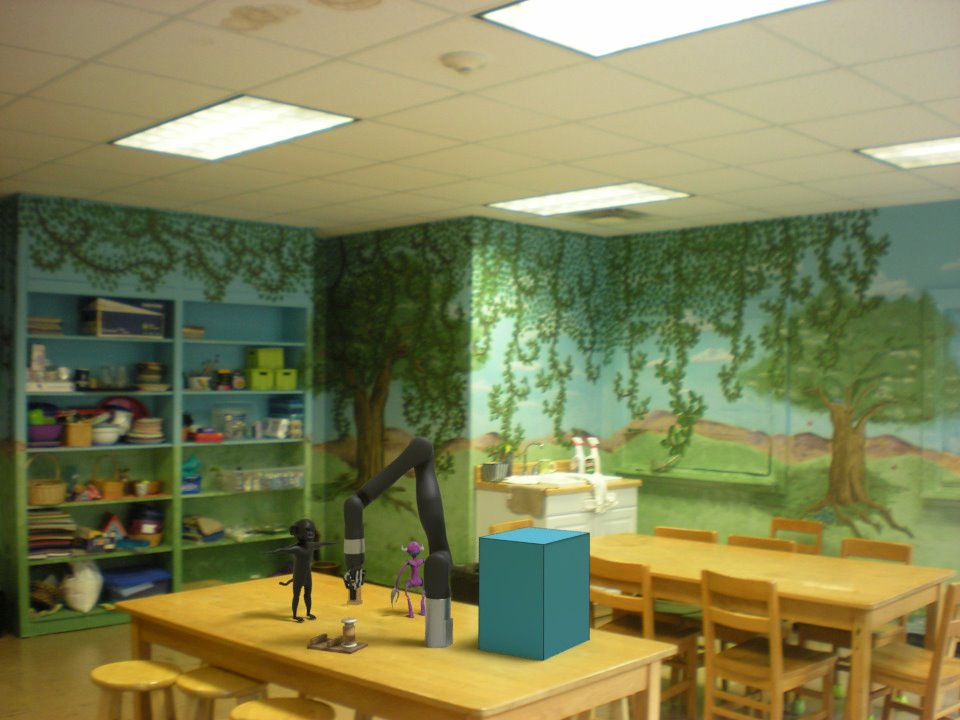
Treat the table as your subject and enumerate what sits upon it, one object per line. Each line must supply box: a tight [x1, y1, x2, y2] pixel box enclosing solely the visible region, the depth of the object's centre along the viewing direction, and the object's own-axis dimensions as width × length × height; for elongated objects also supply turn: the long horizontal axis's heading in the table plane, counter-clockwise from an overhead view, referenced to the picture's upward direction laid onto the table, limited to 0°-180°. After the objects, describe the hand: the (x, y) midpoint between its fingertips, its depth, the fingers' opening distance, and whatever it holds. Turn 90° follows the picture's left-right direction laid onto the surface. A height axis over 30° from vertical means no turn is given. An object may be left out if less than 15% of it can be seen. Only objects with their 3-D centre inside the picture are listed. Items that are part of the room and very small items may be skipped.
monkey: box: [261, 518, 341, 623], centre depth 396 cm, size 40×20×40 cm, turn 140°
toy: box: [390, 541, 426, 619], centre depth 400 cm, size 19×9×30 cm, turn 130°
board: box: [306, 617, 369, 655], centre depth 349 cm, size 18×12×10 cm, turn 66°
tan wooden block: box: [346, 586, 363, 606], centre depth 353 cm, size 4×4×6 cm
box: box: [477, 526, 591, 662], centre depth 353 cm, size 27×33×40 cm
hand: (354, 599), depth 353 cm, fingers closed on tan wooden block, 2 cm apart
